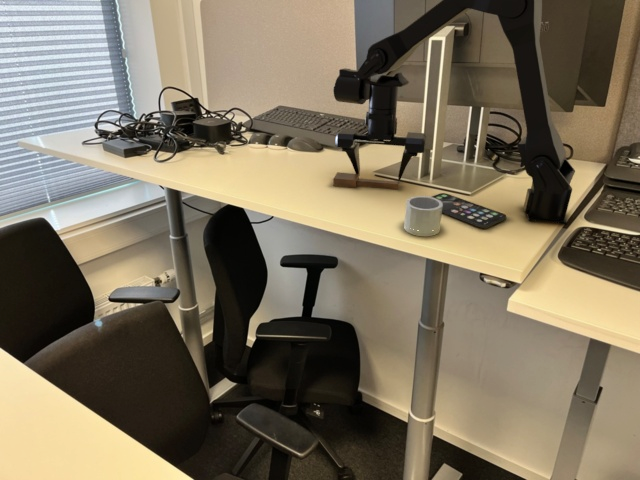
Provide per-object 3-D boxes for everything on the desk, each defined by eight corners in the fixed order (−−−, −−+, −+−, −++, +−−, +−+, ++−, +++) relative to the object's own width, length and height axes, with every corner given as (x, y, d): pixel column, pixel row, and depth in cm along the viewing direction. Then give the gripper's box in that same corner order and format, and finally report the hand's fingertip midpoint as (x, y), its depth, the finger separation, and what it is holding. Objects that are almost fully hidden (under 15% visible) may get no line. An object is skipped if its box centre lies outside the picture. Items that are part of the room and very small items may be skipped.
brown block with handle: (399, 184, 102) (400, 177, 102) (397, 191, 99) (398, 183, 98) (337, 179, 105) (337, 172, 105) (333, 186, 102) (333, 178, 101)
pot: (440, 222, 85) (443, 197, 83) (439, 238, 80) (442, 211, 78) (405, 219, 87) (408, 194, 84) (402, 234, 81) (404, 208, 79)
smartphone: (443, 192, 96) (508, 215, 86) (442, 195, 97) (507, 218, 86) (419, 201, 92) (484, 226, 82) (418, 204, 93) (484, 229, 82)
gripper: (430, 101, 101) (423, 169, 108) (346, 97, 105) (345, 163, 113) (427, 112, 92) (420, 186, 99) (335, 107, 96) (334, 179, 103)
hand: (378, 178), depth 104 cm, fingers open, 9 cm apart
